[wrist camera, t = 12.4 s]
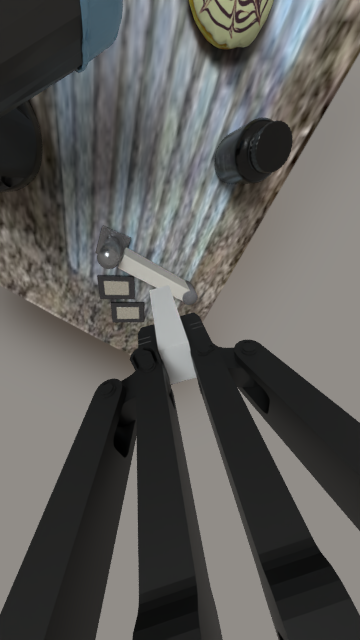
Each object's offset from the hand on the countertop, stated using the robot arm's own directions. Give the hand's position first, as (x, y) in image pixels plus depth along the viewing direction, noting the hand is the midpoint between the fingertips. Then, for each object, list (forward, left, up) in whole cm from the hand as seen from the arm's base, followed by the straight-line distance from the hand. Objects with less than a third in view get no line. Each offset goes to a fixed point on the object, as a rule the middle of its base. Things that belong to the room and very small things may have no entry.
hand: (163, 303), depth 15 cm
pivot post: (-5, -4, -27) cm, 28 cm away
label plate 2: (+2, -17, -27) cm, 32 cm away
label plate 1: (-2, -12, -27) cm, 30 cm away
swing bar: (+5, -6, -25) cm, 26 cm away
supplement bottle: (+9, +17, -27) cm, 33 cm away
